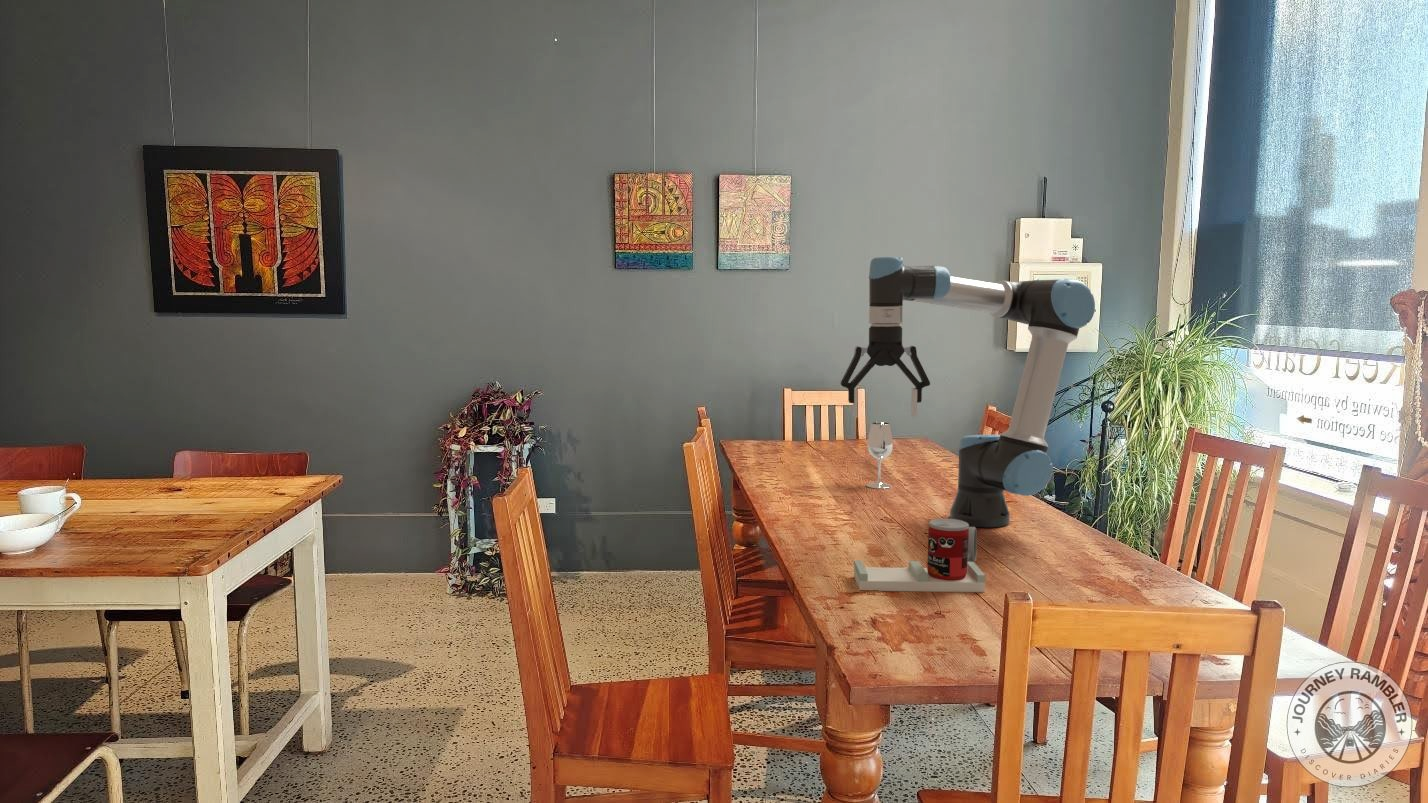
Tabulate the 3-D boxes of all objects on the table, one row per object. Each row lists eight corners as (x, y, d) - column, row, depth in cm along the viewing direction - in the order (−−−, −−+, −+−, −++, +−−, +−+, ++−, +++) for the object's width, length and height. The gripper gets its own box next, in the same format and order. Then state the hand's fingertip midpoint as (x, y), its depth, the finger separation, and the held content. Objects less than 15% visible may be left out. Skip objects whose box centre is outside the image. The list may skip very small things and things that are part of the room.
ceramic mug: (940, 552, 199) (941, 520, 198) (977, 556, 196) (978, 523, 195) (934, 566, 190) (935, 532, 189) (972, 570, 187) (974, 536, 186)
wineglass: (877, 482, 275) (878, 420, 272) (896, 486, 269) (898, 423, 266) (861, 485, 270) (862, 423, 267) (880, 490, 264) (882, 425, 261)
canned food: (919, 571, 179) (921, 519, 178) (952, 567, 182) (954, 516, 180) (941, 582, 172) (943, 529, 170) (974, 578, 175) (976, 525, 173)
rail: (972, 577, 181) (973, 561, 181) (984, 592, 172) (985, 575, 172) (853, 576, 182) (854, 560, 182) (859, 590, 173) (860, 573, 173)
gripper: (832, 326, 193) (832, 419, 196) (944, 325, 192) (942, 418, 195) (829, 325, 201) (829, 415, 203) (936, 324, 200) (935, 414, 203)
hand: (884, 417), depth 199 cm, fingers open, 13 cm apart
